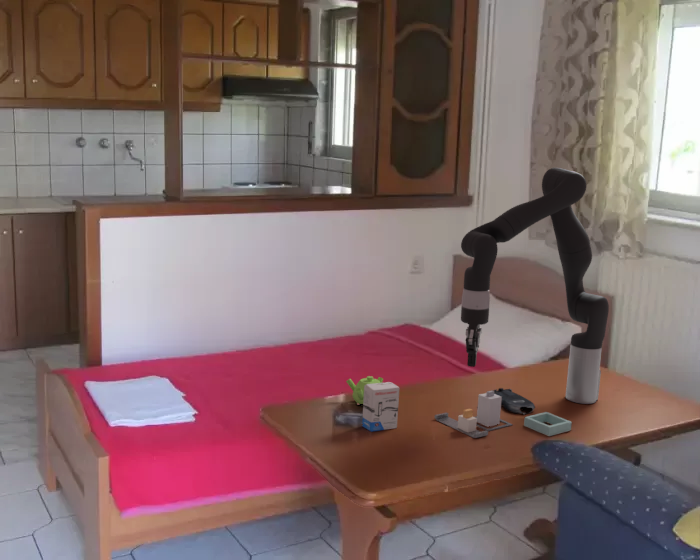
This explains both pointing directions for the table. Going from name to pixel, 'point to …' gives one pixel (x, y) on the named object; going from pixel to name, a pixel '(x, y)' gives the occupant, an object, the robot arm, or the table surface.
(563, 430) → the teal square tray
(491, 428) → the grey square frame
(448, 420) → the latch rail
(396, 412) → the ink box
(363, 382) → the teapot
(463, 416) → the latch tab
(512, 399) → the electronic device
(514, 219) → the robot arm
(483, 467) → the table surface
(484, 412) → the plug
